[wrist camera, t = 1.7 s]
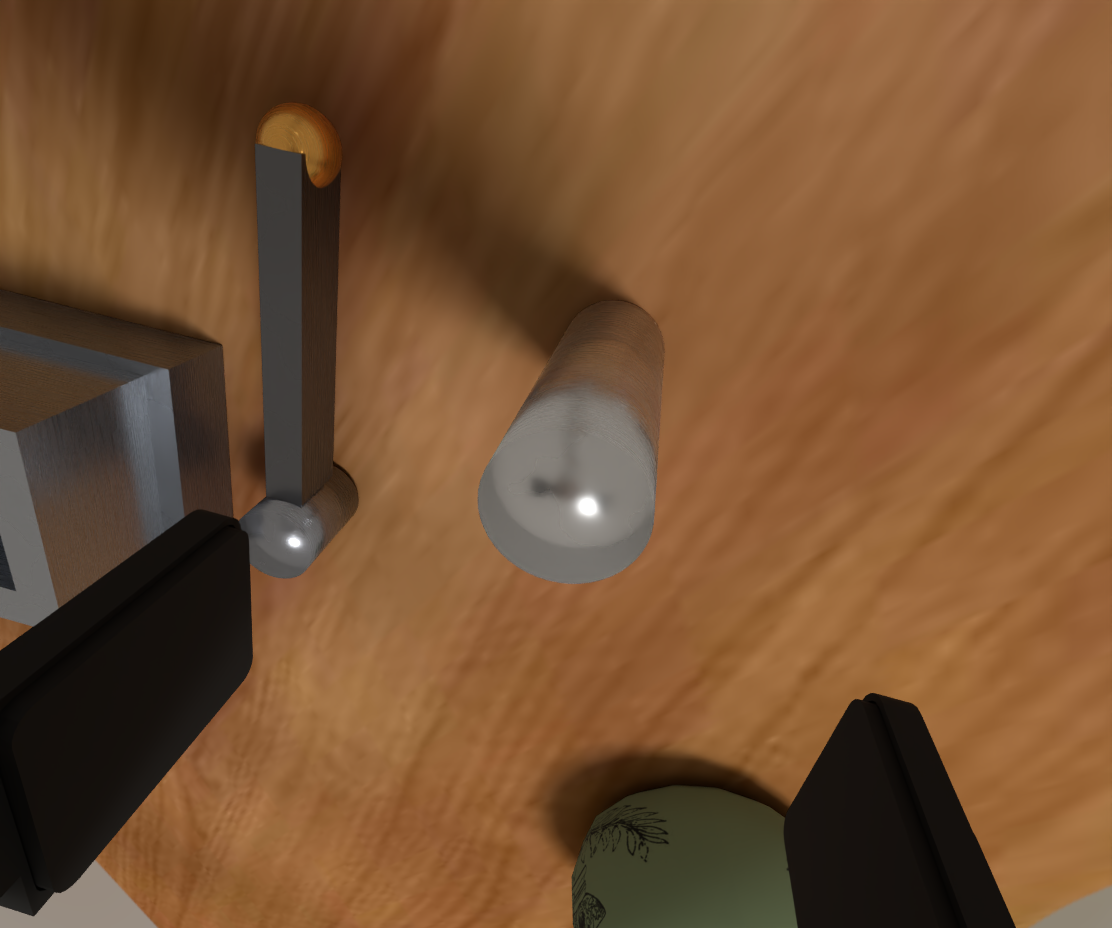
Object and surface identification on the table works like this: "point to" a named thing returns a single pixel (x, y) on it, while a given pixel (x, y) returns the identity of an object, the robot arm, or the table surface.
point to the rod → (582, 452)
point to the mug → (684, 863)
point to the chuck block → (98, 446)
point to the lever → (298, 340)
